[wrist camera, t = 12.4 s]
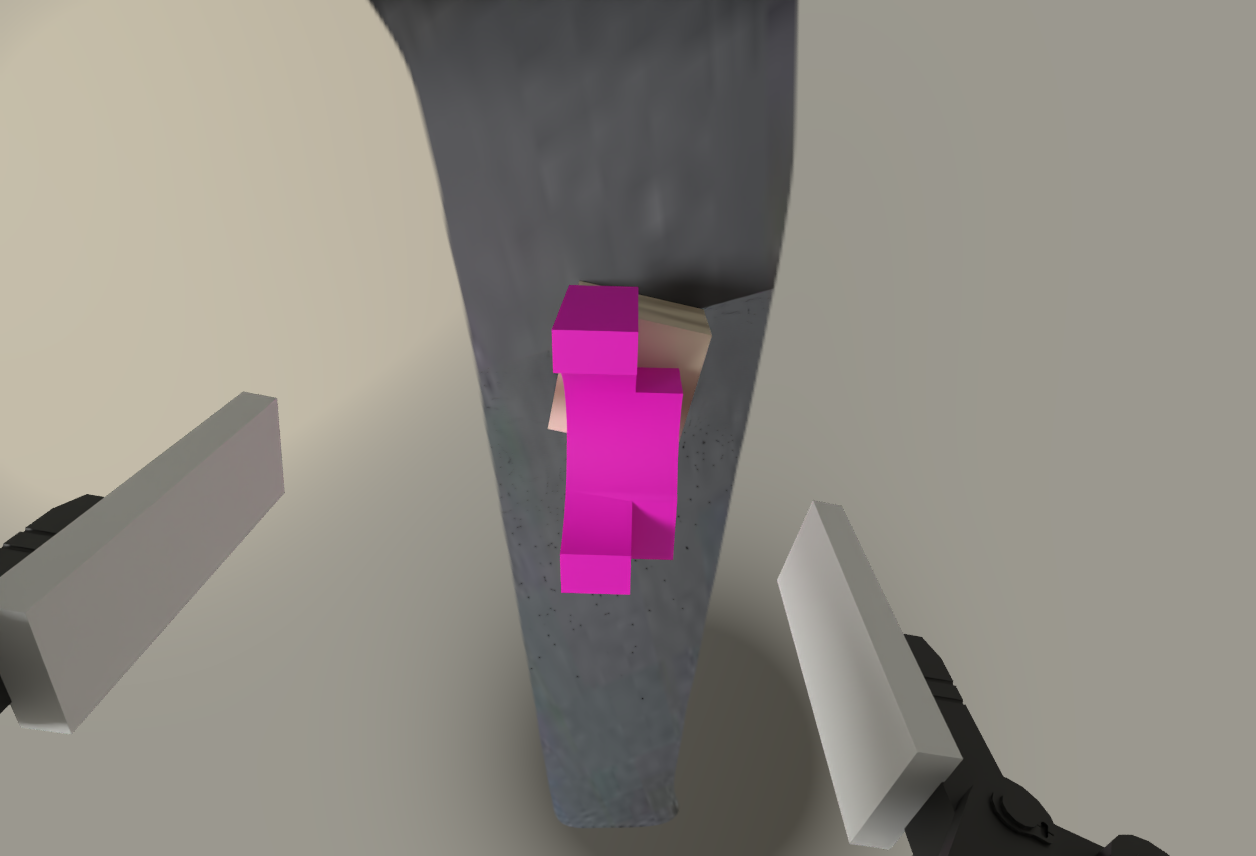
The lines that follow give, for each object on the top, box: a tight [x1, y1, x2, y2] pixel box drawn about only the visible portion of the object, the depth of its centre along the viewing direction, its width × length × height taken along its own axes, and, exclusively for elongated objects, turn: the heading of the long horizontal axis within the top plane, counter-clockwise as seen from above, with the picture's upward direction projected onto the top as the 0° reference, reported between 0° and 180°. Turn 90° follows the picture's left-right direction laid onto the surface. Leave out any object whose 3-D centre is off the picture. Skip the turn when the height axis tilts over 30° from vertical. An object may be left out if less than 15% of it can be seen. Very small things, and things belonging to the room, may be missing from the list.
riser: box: [548, 281, 712, 440], centre depth 38 cm, size 8×8×5 cm
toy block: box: [552, 285, 683, 595], centre depth 33 cm, size 15×6×8 cm, turn 179°
